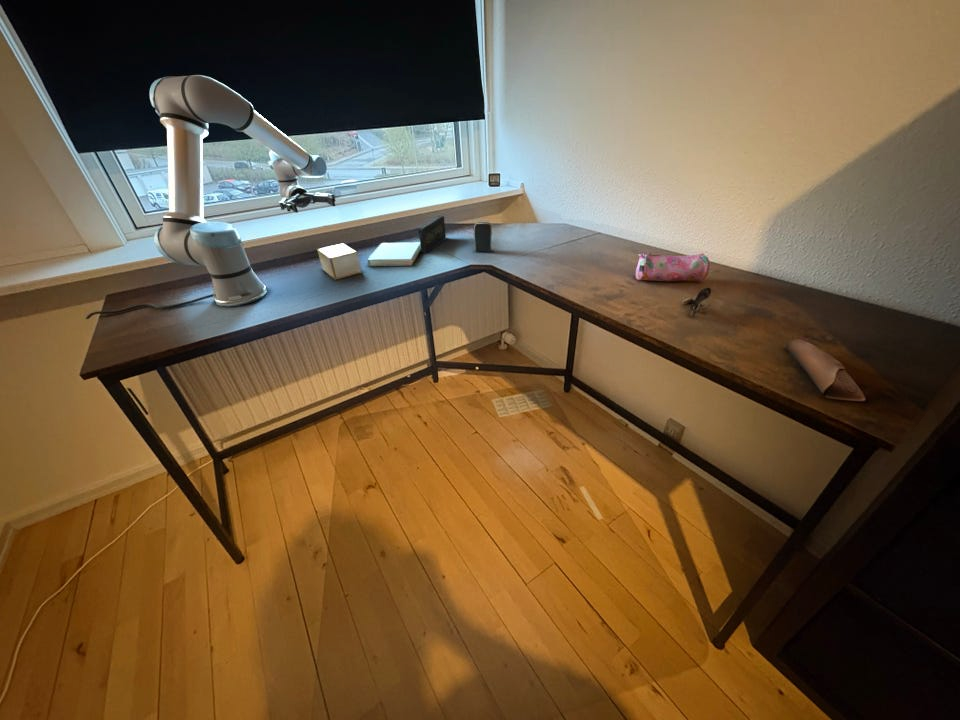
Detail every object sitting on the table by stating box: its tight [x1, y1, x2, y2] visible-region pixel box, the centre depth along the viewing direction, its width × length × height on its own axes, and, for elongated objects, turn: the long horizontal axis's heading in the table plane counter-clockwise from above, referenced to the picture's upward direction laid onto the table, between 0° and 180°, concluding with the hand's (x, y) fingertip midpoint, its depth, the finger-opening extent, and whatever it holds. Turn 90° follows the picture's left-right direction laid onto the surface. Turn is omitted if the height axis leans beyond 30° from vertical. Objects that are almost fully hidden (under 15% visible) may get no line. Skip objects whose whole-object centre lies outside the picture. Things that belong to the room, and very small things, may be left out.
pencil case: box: [635, 252, 710, 283], centre depth 123 cm, size 21×9×9 cm, turn 81°
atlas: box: [366, 241, 421, 267], centre depth 153 cm, size 17×20×3 cm
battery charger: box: [473, 221, 493, 253], centre depth 153 cm, size 7×4×11 cm, turn 82°
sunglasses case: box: [785, 338, 867, 402], centre depth 82 cm, size 18×7×7 cm, turn 167°
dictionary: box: [317, 243, 362, 281], centre depth 140 cm, size 13×10×8 cm
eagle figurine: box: [682, 287, 712, 317], centre depth 106 cm, size 8×7×9 cm
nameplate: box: [418, 215, 447, 254], centre depth 161 cm, size 21×2×10 cm, turn 161°
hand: (315, 205), depth 137 cm, fingers open, 13 cm apart
